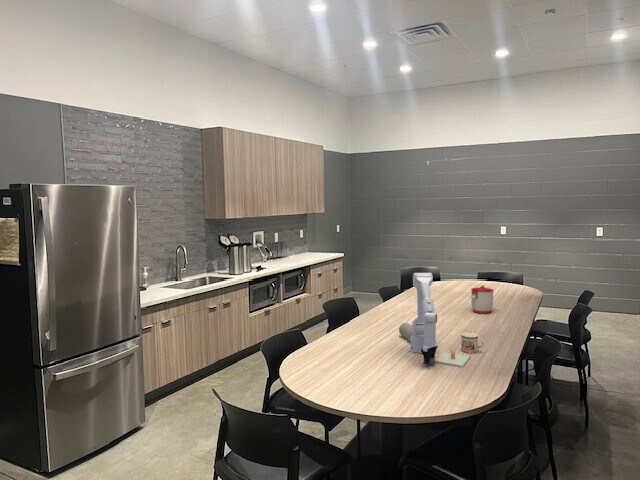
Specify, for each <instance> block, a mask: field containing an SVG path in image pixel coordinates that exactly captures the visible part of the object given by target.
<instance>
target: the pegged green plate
mask: <svg viewBox="0 0 640 480" xmlns="http://www.w3.org/2000/svg"><path fill="white" fill-rule="evenodd" d="M470 359H471V355H465V354H459V353H456V350H455V349H453V348H452V349H450V352H446V351H443V353H441V354H440V355H439V356H438V357H437V358H435V364H440V365H446V366H452V367H457V368H464V366H465V365H466V364H467V363H468V361H470Z"/></svg>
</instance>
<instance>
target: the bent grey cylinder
mask: <svg viewBox="0 0 640 480" xmlns="http://www.w3.org/2000/svg"><path fill="white" fill-rule="evenodd" d="M398 332H399V334H400V335H401V336H402V337H404V338H406V339H407V342H409V343H410V338H411V335H412V334H413V332H412V324H410V323H408V322H403V323H402V324H401V325H400V326H399V328H398Z"/></svg>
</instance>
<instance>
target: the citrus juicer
mask: <svg viewBox="0 0 640 480" xmlns="http://www.w3.org/2000/svg"><path fill="white" fill-rule="evenodd" d="M470 290H471V295H470V298H471V299H470V300H471V301H470V302H471V308H472V311H473V312H474V313H476V314H481V315H483V314H484V315H487V314H490V313H491V312H492V309H493V306H494V289H493V288H490V287H489V288H488V287H485V286H484V285H481V286H480V287H472V288H470Z"/></svg>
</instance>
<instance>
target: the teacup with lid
mask: <svg viewBox="0 0 640 480" xmlns="http://www.w3.org/2000/svg"><path fill="white" fill-rule="evenodd" d="M460 337H461V339H460V340H461V341H460V350H461V351H462V352H463V353H468V354H474V353H477V352H478V349H481V348H482V347H483V346H484V344H485V343H484V340H483V339H481V338H478V337H479V335H478V333H476V332H473V331H472V329H467V331H465V332H462V333H461V334H460ZM478 342H481V345H480V346H478V344H479V343H478Z"/></svg>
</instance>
